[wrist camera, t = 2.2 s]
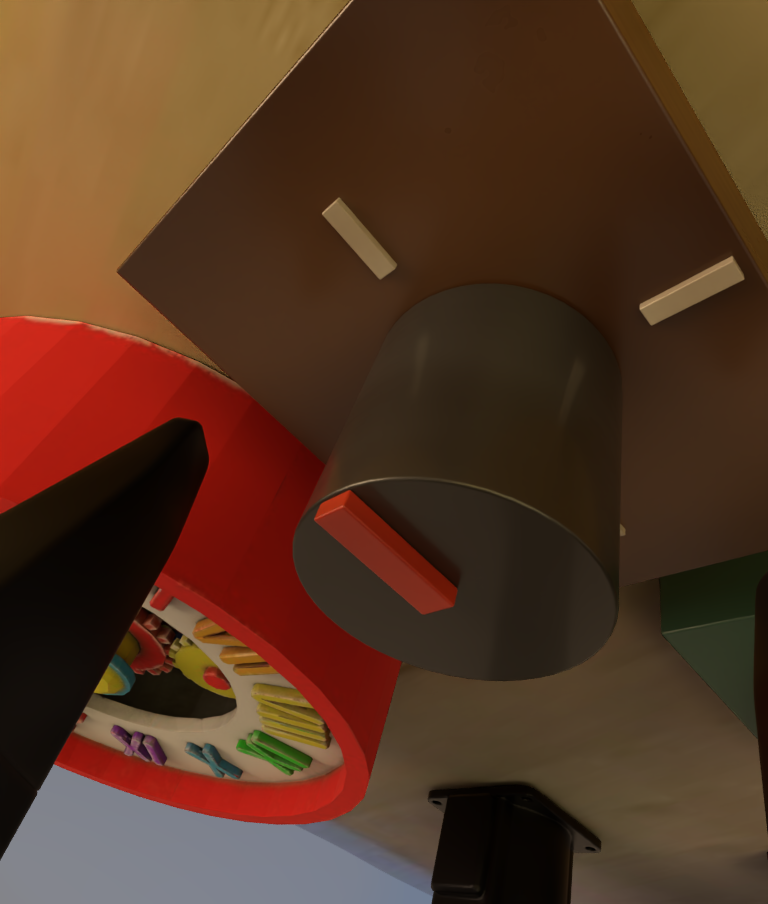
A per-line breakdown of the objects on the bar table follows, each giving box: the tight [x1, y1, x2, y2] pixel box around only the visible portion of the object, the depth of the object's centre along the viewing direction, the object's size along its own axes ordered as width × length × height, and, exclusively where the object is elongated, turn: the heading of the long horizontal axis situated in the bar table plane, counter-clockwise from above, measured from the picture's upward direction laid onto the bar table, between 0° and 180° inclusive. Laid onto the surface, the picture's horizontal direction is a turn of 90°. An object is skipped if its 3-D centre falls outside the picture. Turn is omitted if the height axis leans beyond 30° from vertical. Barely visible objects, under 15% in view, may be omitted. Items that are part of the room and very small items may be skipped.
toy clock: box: [0, 316, 402, 824], centre depth 23 cm, size 20×6×20 cm
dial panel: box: [117, 0, 768, 587], centre depth 13 cm, size 12×9×3 cm
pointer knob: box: [293, 283, 622, 681], centre depth 10 cm, size 4×4×5 cm
